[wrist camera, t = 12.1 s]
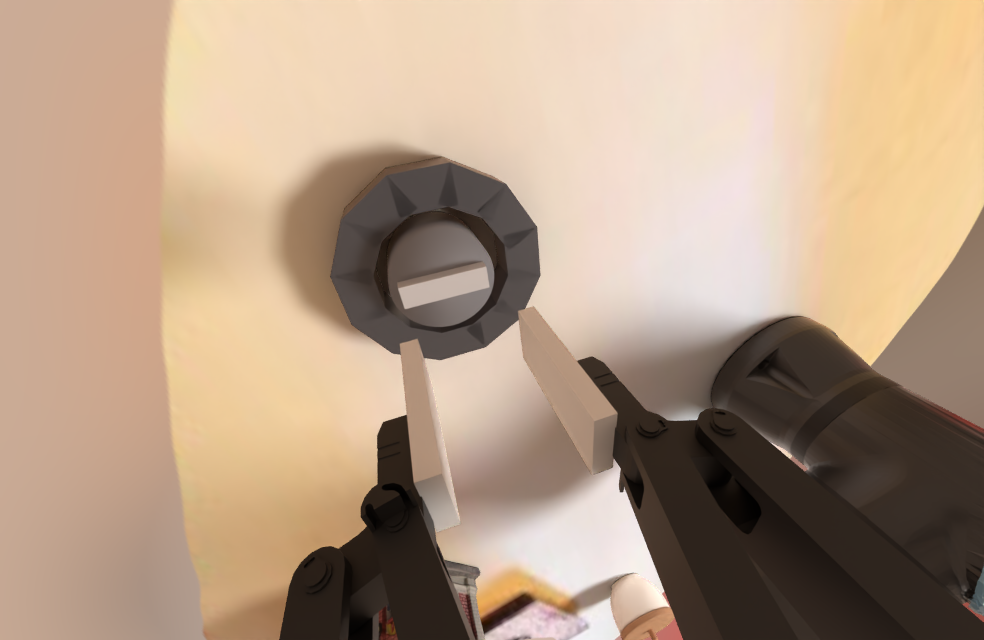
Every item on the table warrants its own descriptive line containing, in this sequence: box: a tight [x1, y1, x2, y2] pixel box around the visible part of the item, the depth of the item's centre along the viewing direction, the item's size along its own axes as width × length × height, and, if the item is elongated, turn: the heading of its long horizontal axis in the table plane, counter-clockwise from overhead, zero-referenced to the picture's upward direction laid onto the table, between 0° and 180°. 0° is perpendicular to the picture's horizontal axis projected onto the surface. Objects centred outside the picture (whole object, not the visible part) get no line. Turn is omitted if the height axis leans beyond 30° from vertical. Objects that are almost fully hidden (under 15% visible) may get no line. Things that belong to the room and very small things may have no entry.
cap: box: [387, 212, 494, 327], centre depth 22 cm, size 6×6×5 cm
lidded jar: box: [610, 573, 674, 640], centre depth 66 cm, size 11×11×9 cm
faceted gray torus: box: [330, 157, 540, 360], centre depth 23 cm, size 13×13×2 cm
